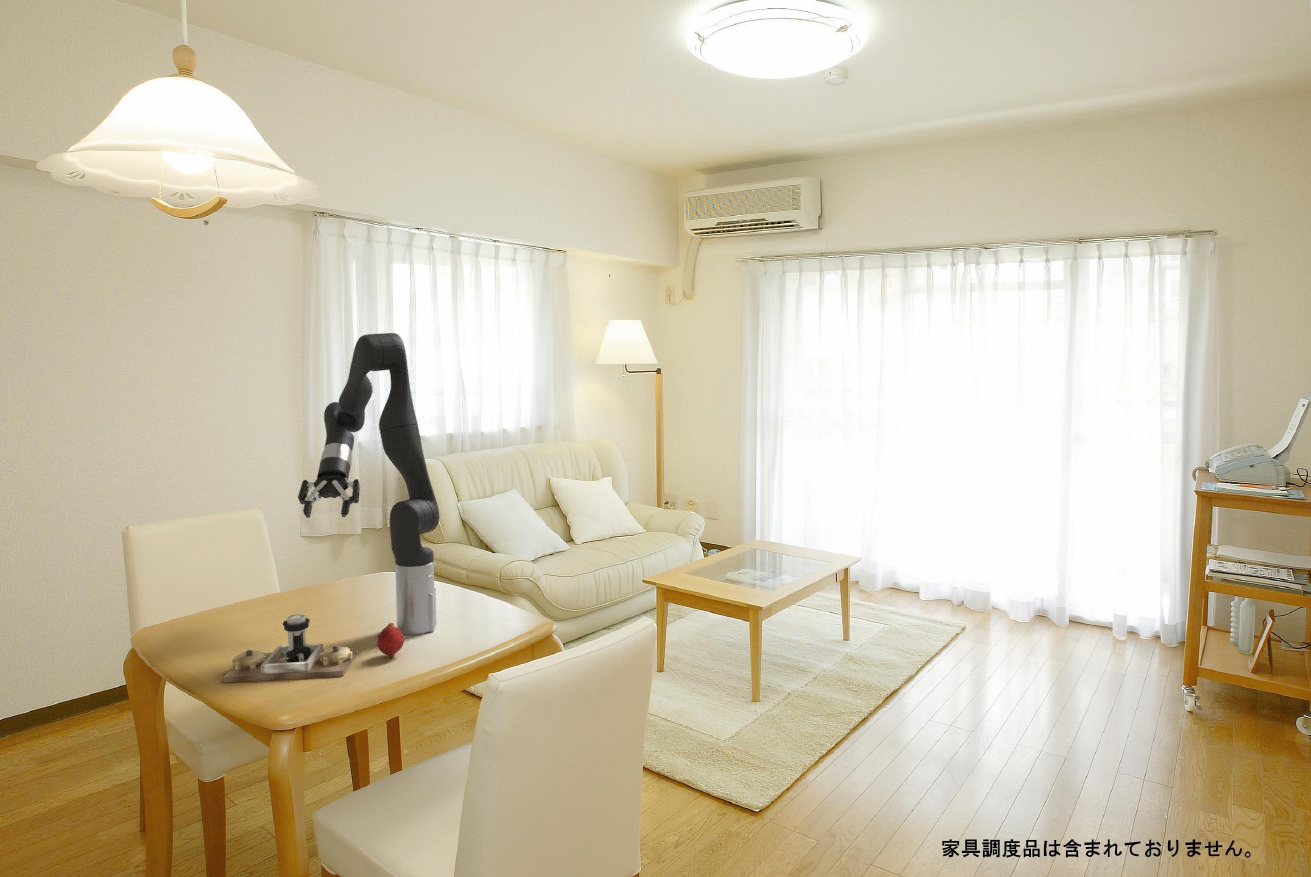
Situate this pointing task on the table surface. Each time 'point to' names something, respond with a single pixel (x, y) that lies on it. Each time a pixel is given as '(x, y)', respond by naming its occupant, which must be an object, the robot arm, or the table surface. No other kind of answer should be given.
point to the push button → (296, 639)
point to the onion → (390, 640)
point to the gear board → (290, 664)
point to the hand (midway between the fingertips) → (325, 515)
